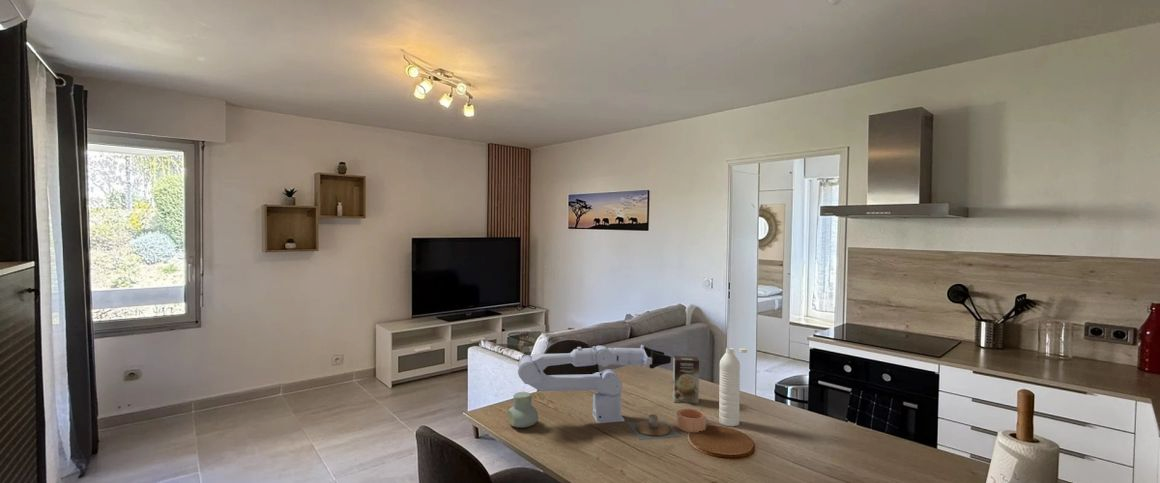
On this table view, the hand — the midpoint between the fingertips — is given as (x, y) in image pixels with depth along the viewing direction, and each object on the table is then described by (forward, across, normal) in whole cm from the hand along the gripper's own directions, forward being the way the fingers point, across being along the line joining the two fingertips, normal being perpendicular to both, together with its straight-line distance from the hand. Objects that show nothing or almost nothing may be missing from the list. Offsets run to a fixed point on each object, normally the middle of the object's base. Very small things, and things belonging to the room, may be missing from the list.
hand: (667, 357), depth 166 cm
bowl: (+6, -9, +21) cm, 23 cm away
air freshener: (-48, 0, +23) cm, 54 cm away
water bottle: (+21, -7, +20) cm, 30 cm away
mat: (-7, -10, +22) cm, 25 cm away
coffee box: (+12, +16, +19) cm, 27 cm away
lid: (-7, -10, +21) cm, 24 cm away
